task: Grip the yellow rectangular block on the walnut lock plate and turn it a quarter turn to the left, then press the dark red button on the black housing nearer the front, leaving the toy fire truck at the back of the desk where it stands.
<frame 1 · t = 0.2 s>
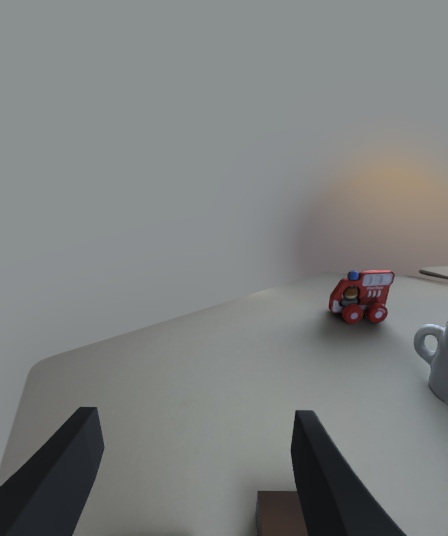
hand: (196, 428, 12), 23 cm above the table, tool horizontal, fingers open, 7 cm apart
toy fire truck: (355, 316, 68), on the table
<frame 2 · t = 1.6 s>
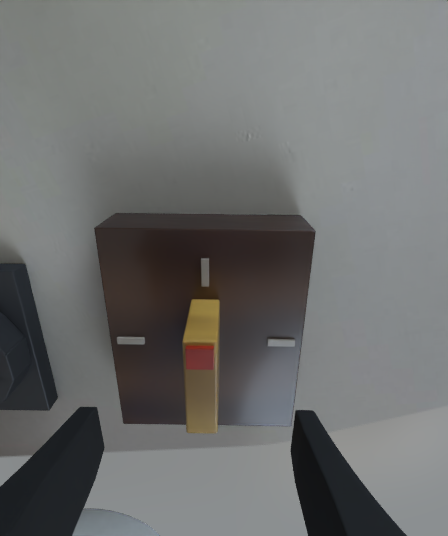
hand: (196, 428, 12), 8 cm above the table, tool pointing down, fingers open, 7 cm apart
lock plate: (209, 311, 19), on the table
yellow rectangular block: (203, 365, 15), point 5 cm above the table, hinge at 0.0°
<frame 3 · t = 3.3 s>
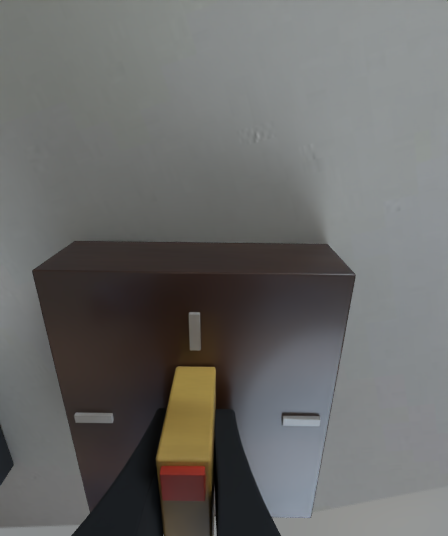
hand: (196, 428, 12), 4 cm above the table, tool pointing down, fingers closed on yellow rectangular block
lock plate: (203, 365, 15), on the table
yellow rectangular block: (192, 466, 10), point 5 cm above the table, hinge at 0.1°, touching gripper
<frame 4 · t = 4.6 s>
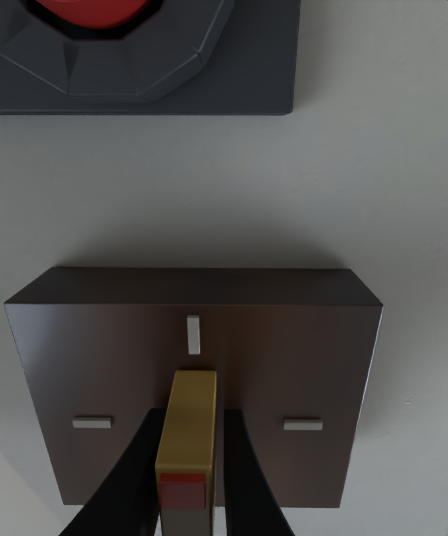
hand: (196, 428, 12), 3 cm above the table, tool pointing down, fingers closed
lock plate: (203, 367, 15), on the table
yellow rectangular block: (192, 471, 10), point 5 cm above the table, hinge at 89.5°
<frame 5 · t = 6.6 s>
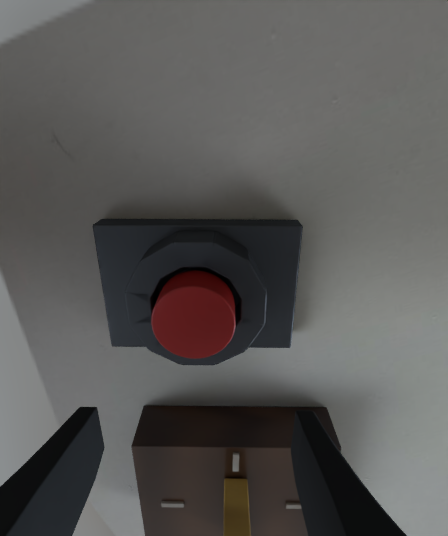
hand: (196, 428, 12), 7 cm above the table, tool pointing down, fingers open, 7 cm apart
bell housing: (201, 281, 18), on the table
bell button: (195, 314, 14), point 3 cm above the table, slide at 0.1 cm
lock plate: (233, 459, 23), on the table
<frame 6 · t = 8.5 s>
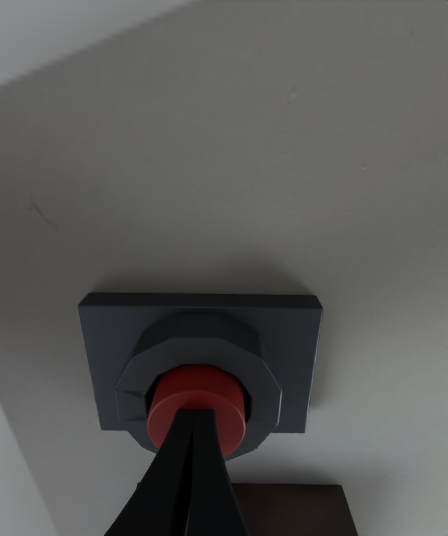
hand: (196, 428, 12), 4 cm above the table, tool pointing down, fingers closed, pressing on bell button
bell housing: (203, 358, 15), on the table
bell button: (198, 410, 12), point 3 cm above the table, slide at -0.2 cm, touching gripper
lock plate: (237, 534, 21), on the table
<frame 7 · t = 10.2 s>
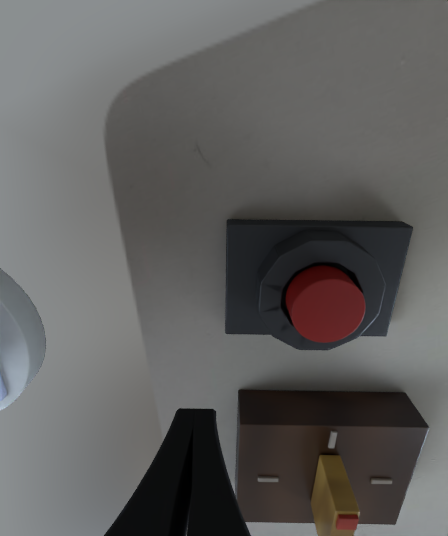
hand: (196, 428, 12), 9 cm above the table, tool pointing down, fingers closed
bell housing: (307, 276, 20), on the table
bell button: (323, 303, 16), point 3 cm above the table, slide at 0.1 cm
lock plate: (313, 440, 25), on the table
yellow rectangular block: (332, 508, 20), point 5 cm above the table, hinge at 89.5°
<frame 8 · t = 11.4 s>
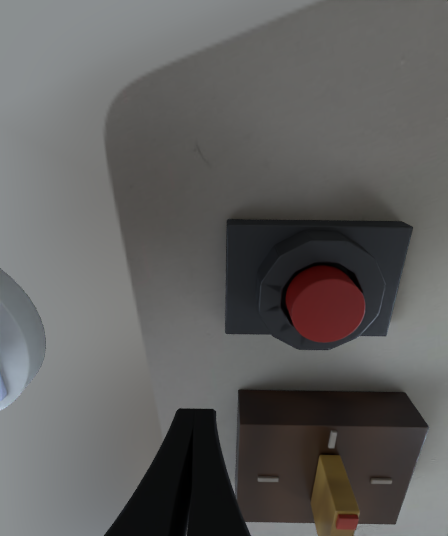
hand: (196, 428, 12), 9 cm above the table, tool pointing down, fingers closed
bell housing: (307, 276, 20), on the table
bell button: (323, 303, 16), point 3 cm above the table, slide at 0.1 cm
lock plate: (313, 440, 25), on the table
yellow rectangular block: (332, 508, 20), point 5 cm above the table, hinge at 89.5°
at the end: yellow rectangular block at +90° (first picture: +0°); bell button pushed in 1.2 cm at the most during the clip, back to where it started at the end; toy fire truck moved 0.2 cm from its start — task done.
